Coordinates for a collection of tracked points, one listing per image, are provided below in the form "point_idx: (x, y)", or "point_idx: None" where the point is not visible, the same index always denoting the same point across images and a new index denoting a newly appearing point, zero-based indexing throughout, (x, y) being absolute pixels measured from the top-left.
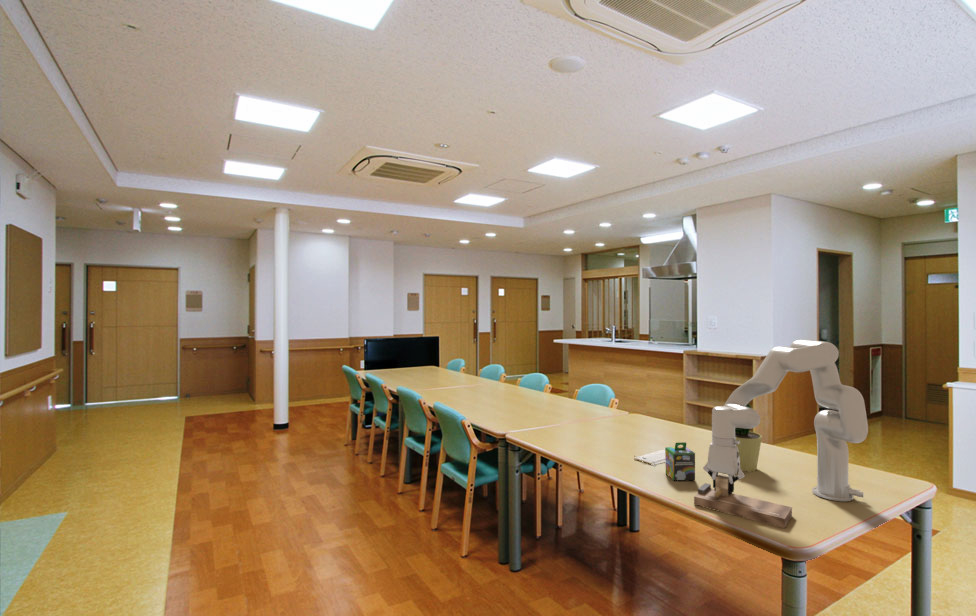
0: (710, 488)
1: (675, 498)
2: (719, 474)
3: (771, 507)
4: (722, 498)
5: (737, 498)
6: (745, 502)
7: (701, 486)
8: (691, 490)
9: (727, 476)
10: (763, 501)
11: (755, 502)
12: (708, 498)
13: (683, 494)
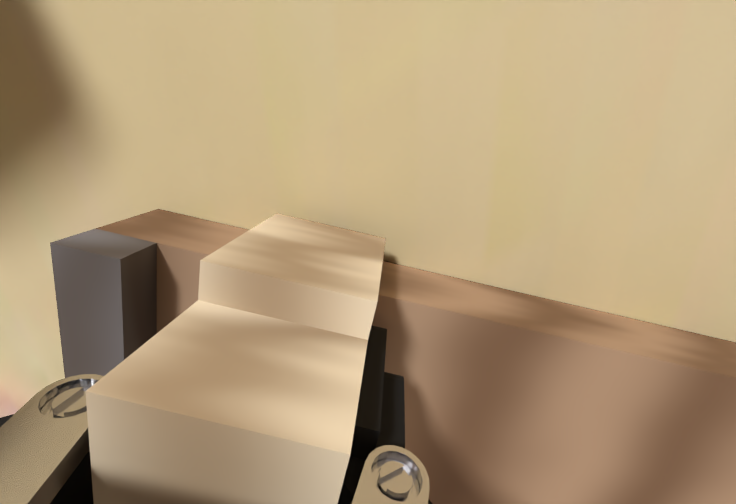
0: (156, 250)
1: (20, 377)
2: (97, 436)
3: (727, 499)
4: None
5: (436, 411)
6: (502, 471)
7: (68, 376)
8: (24, 143)
9: (272, 493)
10: (695, 393)
11: (599, 442)
12: None
13: (22, 277)
